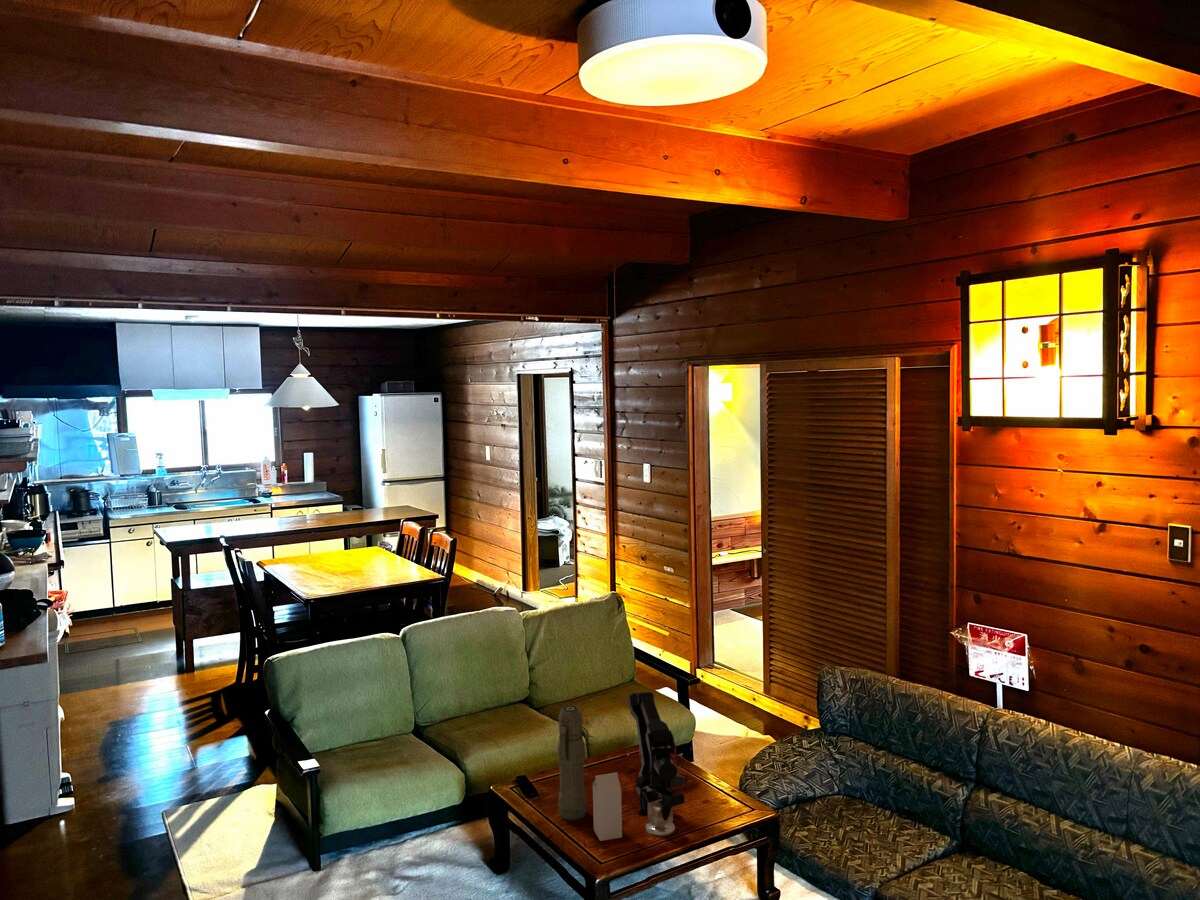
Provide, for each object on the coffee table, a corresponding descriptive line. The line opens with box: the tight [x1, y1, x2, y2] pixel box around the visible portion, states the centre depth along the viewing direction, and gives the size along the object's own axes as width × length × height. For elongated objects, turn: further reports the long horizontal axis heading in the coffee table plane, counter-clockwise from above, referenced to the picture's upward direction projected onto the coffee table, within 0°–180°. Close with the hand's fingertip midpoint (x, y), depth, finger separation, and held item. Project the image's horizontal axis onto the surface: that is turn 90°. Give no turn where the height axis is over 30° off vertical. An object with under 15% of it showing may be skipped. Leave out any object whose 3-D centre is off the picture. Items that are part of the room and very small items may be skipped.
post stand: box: [645, 820, 676, 837], centre depth 277 cm, size 9×9×4 cm
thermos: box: [557, 705, 587, 821], centre depth 287 cm, size 9×12×35 cm
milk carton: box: [592, 772, 623, 842], centre depth 274 cm, size 7×7×19 cm
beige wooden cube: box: [647, 799, 674, 826], centre depth 276 cm, size 6×6×5 cm
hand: (660, 816), depth 277 cm, fingers closed on beige wooden cube, 5 cm apart
